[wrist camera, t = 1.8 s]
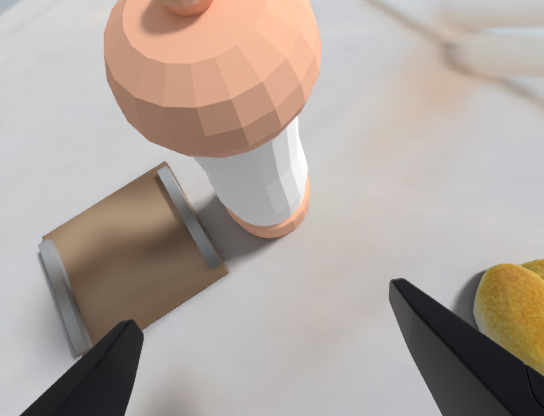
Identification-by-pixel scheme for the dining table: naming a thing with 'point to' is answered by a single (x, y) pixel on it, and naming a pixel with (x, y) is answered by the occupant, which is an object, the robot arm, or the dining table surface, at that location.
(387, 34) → the dining table surface
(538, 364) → the bread roll
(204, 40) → the pepper shaker
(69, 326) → the serving tray
